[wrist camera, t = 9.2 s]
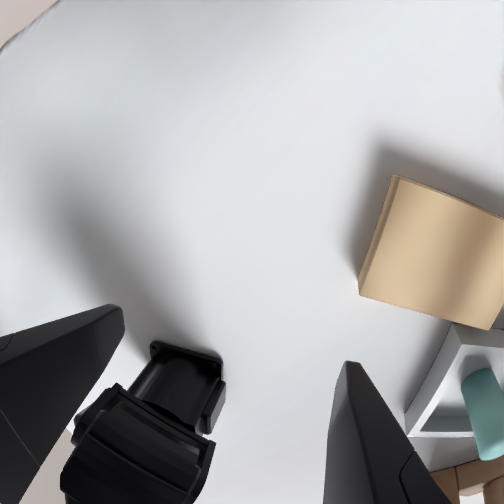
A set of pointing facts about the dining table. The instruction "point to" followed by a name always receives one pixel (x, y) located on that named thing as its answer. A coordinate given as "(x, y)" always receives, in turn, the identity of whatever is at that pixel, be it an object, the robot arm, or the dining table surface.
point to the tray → (454, 382)
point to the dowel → (485, 412)
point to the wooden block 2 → (474, 480)
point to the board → (436, 256)
